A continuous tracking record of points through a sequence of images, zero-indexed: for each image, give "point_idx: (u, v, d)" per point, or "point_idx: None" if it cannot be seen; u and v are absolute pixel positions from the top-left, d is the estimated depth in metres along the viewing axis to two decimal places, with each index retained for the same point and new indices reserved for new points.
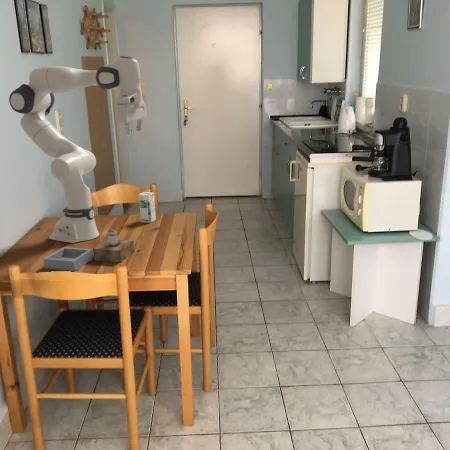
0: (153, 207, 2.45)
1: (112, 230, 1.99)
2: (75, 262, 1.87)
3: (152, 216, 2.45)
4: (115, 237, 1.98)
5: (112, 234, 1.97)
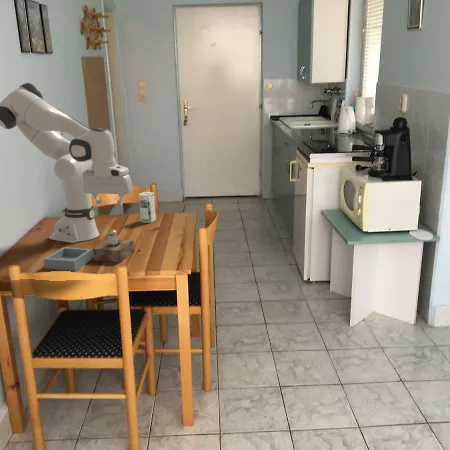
0: (153, 207, 2.45)
1: (112, 230, 1.99)
2: (75, 262, 1.87)
3: (152, 216, 2.45)
4: (115, 237, 1.98)
5: (112, 234, 1.97)
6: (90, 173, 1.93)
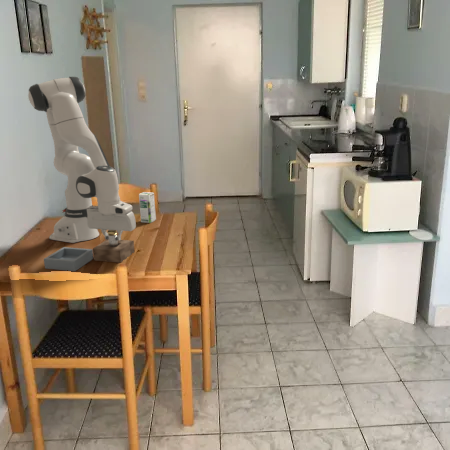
0: (153, 207, 2.45)
1: (112, 230, 1.99)
2: (75, 262, 1.87)
3: (152, 216, 2.45)
4: None
5: (112, 234, 1.97)
6: (94, 209, 1.97)
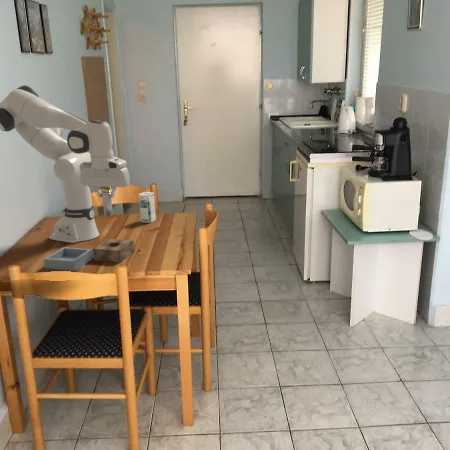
0: (153, 207, 2.45)
1: (106, 187, 1.93)
2: (75, 262, 1.87)
3: (152, 216, 2.45)
4: None
5: (106, 191, 1.92)
6: (87, 165, 1.92)
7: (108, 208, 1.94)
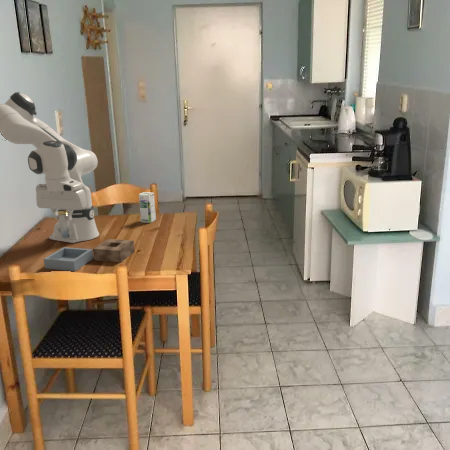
0: (153, 207, 2.45)
1: (62, 209, 1.89)
2: (75, 262, 1.87)
3: (152, 216, 2.45)
4: None
5: (62, 213, 1.87)
6: (43, 187, 1.88)
7: (65, 230, 1.90)
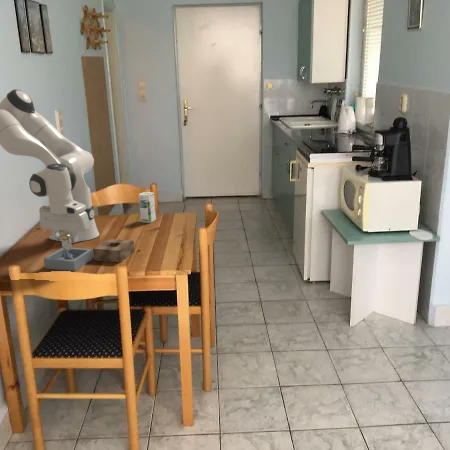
0: (153, 207, 2.45)
1: (65, 234, 1.92)
2: (75, 262, 1.87)
3: (152, 216, 2.45)
4: (69, 241, 1.92)
5: (65, 238, 1.91)
6: (47, 209, 1.90)
7: (68, 255, 1.93)
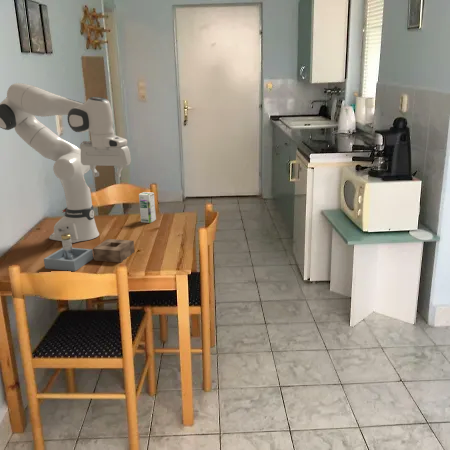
0: (153, 207, 2.45)
1: (66, 234, 1.92)
2: (75, 262, 1.87)
3: (152, 216, 2.45)
4: (69, 241, 1.92)
5: (65, 238, 1.91)
6: (88, 144, 1.89)
7: (69, 255, 1.93)
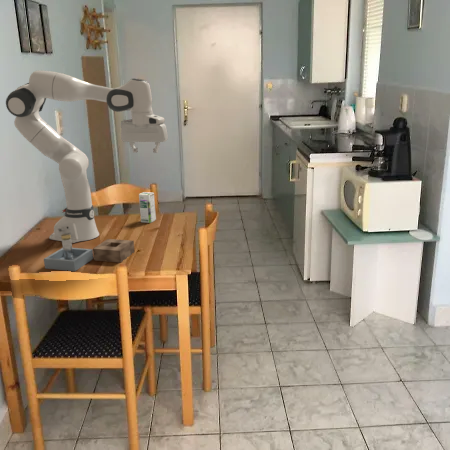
0: (153, 207, 2.45)
1: (66, 234, 1.92)
2: (75, 262, 1.87)
3: (152, 216, 2.45)
4: (69, 241, 1.92)
5: (65, 238, 1.91)
6: (128, 122, 2.06)
7: (69, 255, 1.93)
